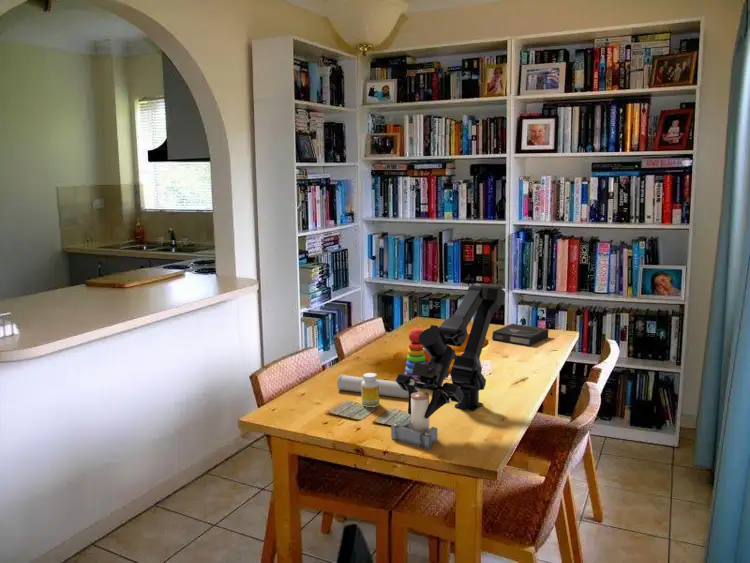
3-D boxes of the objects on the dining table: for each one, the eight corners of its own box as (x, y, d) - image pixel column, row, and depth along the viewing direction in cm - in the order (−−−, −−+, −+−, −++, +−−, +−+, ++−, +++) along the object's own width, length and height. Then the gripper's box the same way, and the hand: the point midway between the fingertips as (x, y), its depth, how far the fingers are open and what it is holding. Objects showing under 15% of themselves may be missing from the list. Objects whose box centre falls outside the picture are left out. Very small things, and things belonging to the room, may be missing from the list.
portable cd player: (492, 341, 267) (492, 331, 266) (512, 332, 280) (512, 323, 279) (528, 347, 257) (529, 338, 256) (548, 338, 269) (548, 329, 269)
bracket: (404, 431, 179) (404, 417, 179) (441, 441, 172) (441, 427, 171) (391, 438, 175) (391, 424, 174) (428, 449, 167) (428, 435, 167)
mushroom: (418, 432, 178) (417, 390, 176) (433, 436, 175) (432, 394, 173) (408, 438, 174) (407, 395, 172) (422, 442, 171) (422, 399, 169)
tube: (416, 383, 207) (344, 374, 216) (411, 383, 202) (338, 373, 211) (414, 400, 206) (343, 390, 216) (409, 400, 201) (336, 390, 211)
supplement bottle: (360, 402, 201) (359, 372, 199) (376, 400, 202) (376, 371, 201) (364, 409, 196) (363, 378, 194) (381, 407, 197) (380, 376, 196)
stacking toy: (415, 389, 212) (414, 333, 209) (398, 383, 218) (397, 328, 215) (432, 383, 217) (432, 328, 214) (416, 377, 223) (415, 324, 220)
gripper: (398, 344, 179) (375, 395, 172) (458, 355, 168) (436, 409, 161) (414, 364, 187) (393, 413, 180) (472, 376, 176) (452, 428, 169)
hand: (417, 415), depth 172 cm, fingers closed on mushroom, 5 cm apart
